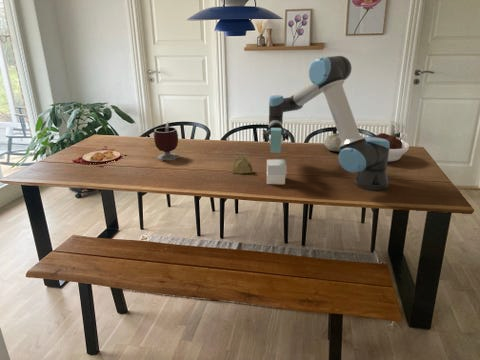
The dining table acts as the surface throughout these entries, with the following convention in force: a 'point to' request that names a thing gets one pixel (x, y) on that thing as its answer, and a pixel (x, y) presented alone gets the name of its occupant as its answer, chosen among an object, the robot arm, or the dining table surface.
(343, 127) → the robot arm
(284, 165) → the tower top
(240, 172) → the rock
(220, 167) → the dining table surface
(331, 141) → the decorative shell
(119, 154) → the plate with food
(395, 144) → the white shallow bowl
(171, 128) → the mate gourd
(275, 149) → the teal post
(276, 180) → the tower base
